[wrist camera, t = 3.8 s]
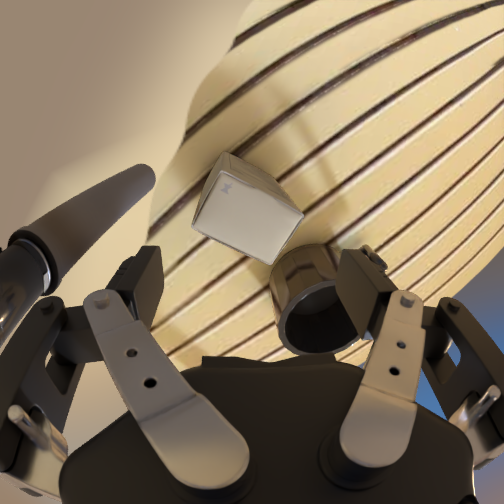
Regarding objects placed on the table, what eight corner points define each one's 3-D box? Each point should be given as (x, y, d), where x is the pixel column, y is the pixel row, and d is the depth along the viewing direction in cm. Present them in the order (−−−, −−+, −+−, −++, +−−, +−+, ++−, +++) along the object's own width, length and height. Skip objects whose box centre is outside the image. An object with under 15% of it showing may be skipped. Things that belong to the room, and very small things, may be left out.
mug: (301, 326, 37) (315, 369, 30) (251, 282, 34) (256, 325, 26) (380, 265, 34) (410, 300, 27) (340, 208, 30) (370, 235, 23)
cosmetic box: (203, 185, 28) (183, 227, 17) (223, 149, 27) (216, 165, 16) (256, 213, 30) (271, 269, 19) (278, 179, 28) (307, 216, 17)
